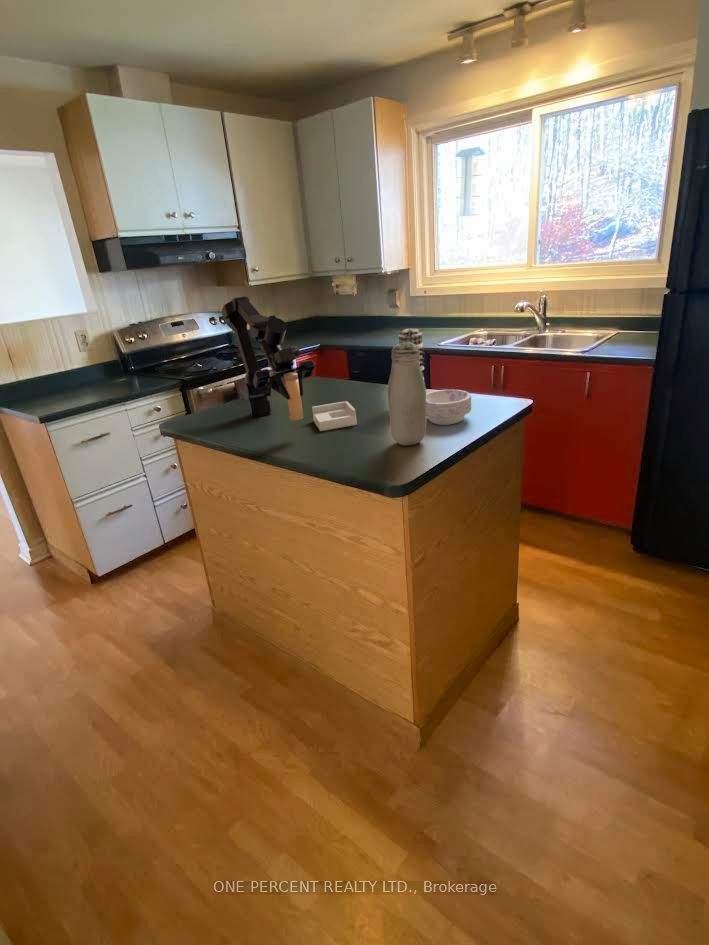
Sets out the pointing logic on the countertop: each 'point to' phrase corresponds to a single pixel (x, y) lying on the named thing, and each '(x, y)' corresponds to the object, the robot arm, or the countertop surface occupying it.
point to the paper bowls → (447, 406)
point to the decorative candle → (416, 338)
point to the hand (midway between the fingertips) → (295, 397)
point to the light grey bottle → (406, 395)
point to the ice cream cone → (293, 396)
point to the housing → (334, 415)
